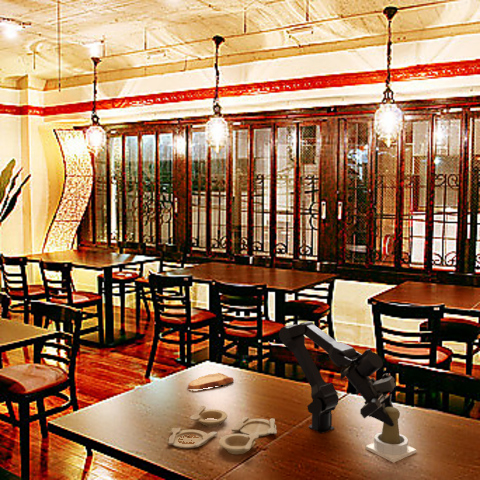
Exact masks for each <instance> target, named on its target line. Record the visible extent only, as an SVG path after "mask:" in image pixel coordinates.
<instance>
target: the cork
mask: <svg viewBox="0 0 480 480" xmlns="http://www.w3.org/2000/svg"><path fill="white" fill-rule="evenodd" d="M385 411H386V412H387V414H388V415H389V417H390V418H391V420H392V421H393V423H394V426H392V427H391V426H389V425H387V424H385V423H384V422H382V423H383V425H382V428H381V429H382V431H381V432H382V435H381V441H382V442H384V443H387V444H400V436H399V434H400V427H399V419H400V416H401V412H400V410H399V409H398V408H397V407H394V406H393V407H386V408H385Z"/></svg>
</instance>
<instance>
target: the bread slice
mask: <svg viewBox="0 0 480 480" xmlns="http://www.w3.org/2000/svg"><path fill="white" fill-rule="evenodd" d="M234 381H235V380H234V377H232V376H231V377H230V376H228V375H227V374H224V373H220V372H217V373H211V374H206V375H203V376H200V377H198V378H196V379H194V380H191V381H190V382H189V383H188V386H187V389H188V388H189V389H203V388H208V387H215V386H220V385H224V386H226V385H225V384H227V385H229V384H231V382H232V383H233V382H234ZM228 383H229V384H228ZM220 387H221V386H220Z"/></svg>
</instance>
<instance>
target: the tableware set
mask: <svg viewBox="0 0 480 480" xmlns="http://www.w3.org/2000/svg"><path fill="white" fill-rule="evenodd" d="M207 418H214V419H217V420H205V419H207ZM189 419H190V420H191V421H197V422H198V423H200V424H201V425H202V424H203V425H202V426H204V425H206V426H205V427H209V426H212V427H217V425H218V426H219V424H220V423H224V421H227V419H228V414H227V412H226V411H224V410H220V409H213V408H212V409H206V406H205V405H201V407H200V408H199V409H198V411H196V413H195V414H193V415H190V417H189ZM275 419H276V418H270V419H269V420H268V419H266V418H250V419H249V416H244V417H243V418H242V419H240V421H238V423H237V424H236V425H234V426H233V427H232V428H231V432H237V431H239V433H231V434H226V435H224V436H222V437H221V438H220V439H219V441H218V442H219V443H218V444H219V445H220V447H221V448H223V449H225V450H226V452H228V453H229V454H232V455H241V454H243V455H244V454H245V453H247V452H248V451H250V450H251V448H252V447H254V446H255V444H256V440H259V437H265V436H269V435H273V434H274V435H277V431H278V430H277V425H276V424H275V423H276V420H275ZM220 425H221V424H220ZM181 429H182V427H172V429H171V430H170V433H171V435H169V438H168V442H167V444H168V445H170V446H174V447H176V448H181V449H193V448H198V447H201V446H203V445H206V444H207V443H208V442H209V440H211V439H212V438H213V437H215V436H217V435H218V432H217V431H211V432H209V433H207V432H205V431H202V430H198V429H182V430H181ZM185 434H186V435H187V434H189V435H190V434H194V435H196V437H199V438H193V437H194V436H193V437H192V438H187V437H185V436H184V435H185ZM189 435H187V436H189ZM180 436H182V438H181V437H180ZM183 436H184V438H183ZM179 438H180V439H183V440H179V441H182V442H183V441H184V442H185V443H186V442H188V443H189V442H192V443H193V442H195V443H194V444H182V443H179V442H178V439H179ZM191 440H192V441H191Z"/></svg>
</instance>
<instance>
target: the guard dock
mask: <svg viewBox="0 0 480 480" xmlns="http://www.w3.org/2000/svg"><path fill="white" fill-rule="evenodd" d="M381 435H382V431H380V432H378V433H375V435H374V437H373V439H374V440H373V442H372V443H370V444H367V445H366V446H365V450H366V451H369V452H371V453H373V454H375V455H377V456H379V457H381V458H384V459H385V460H388V461H390V462H392V463H393V464H394V463H395V462H398V461H400V460H402V459H405V458H408V457H409V456H411V455H414V454H416V453H417V449H416V448H414V447H412V446H410V445H409V439H408V438H407V437H406V436H405V435H403V434H401V433H399V436H400V444H387V443H384V442H382V441H381Z"/></svg>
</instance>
